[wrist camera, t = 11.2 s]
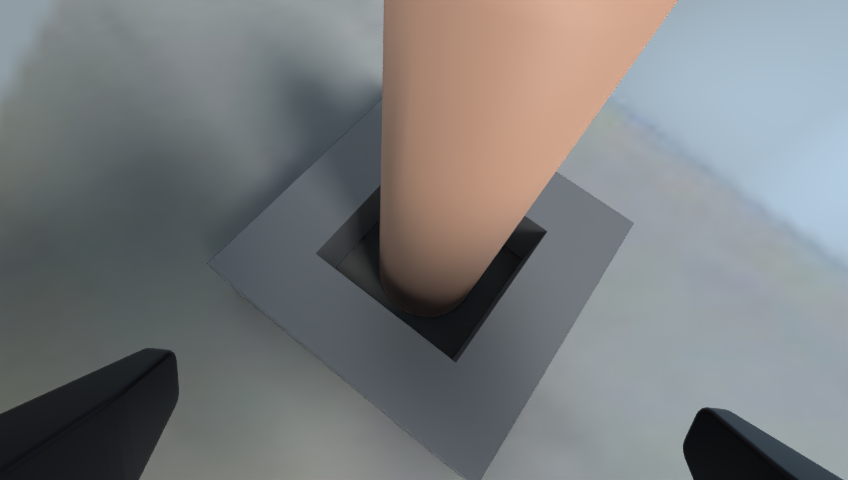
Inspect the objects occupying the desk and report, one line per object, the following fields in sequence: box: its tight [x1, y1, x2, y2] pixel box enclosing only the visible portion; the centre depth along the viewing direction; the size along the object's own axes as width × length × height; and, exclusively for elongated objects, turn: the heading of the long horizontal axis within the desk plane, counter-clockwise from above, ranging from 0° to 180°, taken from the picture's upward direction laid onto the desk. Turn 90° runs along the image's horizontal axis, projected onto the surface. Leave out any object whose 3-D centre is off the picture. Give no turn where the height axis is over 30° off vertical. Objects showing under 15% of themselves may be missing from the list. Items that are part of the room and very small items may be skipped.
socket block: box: [207, 99, 634, 480], centre depth 17 cm, size 11×11×3 cm
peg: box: [379, 0, 678, 317], centre depth 12 cm, size 4×4×14 cm
